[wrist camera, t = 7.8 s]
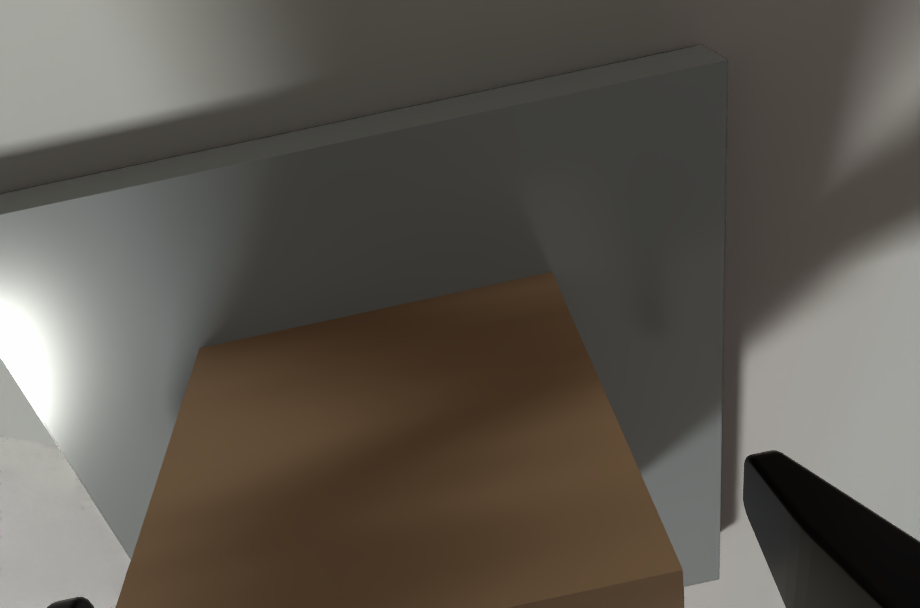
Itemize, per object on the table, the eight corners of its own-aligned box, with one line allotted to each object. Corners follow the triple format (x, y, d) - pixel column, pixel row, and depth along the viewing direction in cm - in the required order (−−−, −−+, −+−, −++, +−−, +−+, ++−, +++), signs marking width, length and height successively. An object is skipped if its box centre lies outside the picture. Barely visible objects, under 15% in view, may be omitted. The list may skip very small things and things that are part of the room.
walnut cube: (552, 271, 10) (682, 569, 6) (585, 515, 13) (691, 839, 9) (199, 348, 10) (86, 699, 6) (304, 574, 13) (276, 927, 9)
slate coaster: (701, 44, 10) (727, 60, 9) (703, 546, 15) (719, 579, 14) (-50, 204, 10) (-80, 232, 9) (219, 648, 15) (212, 686, 14)
